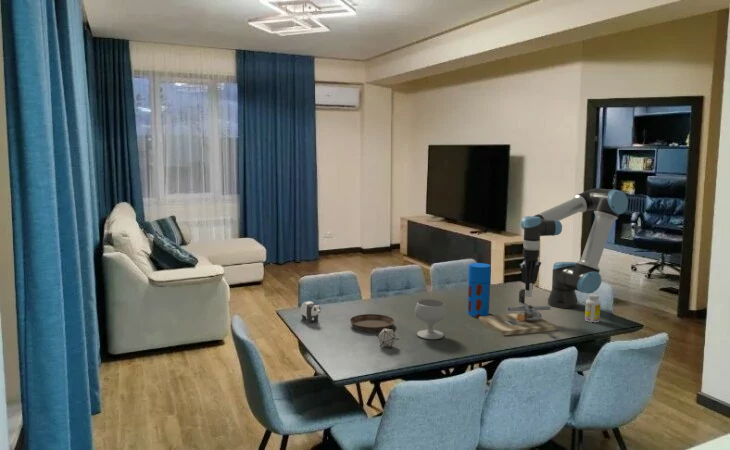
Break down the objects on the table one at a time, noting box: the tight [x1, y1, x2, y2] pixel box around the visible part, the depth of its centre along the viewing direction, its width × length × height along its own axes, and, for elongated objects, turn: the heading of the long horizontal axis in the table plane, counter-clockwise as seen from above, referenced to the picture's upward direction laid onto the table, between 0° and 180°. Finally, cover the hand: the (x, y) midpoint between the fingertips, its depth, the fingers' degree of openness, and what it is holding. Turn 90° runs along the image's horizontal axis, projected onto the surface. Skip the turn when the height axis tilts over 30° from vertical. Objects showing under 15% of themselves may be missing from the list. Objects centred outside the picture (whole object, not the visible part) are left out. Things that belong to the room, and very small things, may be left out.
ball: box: [517, 314, 525, 321], centre depth 256 cm, size 4×4×4 cm
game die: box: [375, 327, 399, 350], centre depth 229 cm, size 9×8×10 cm
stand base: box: [478, 312, 558, 336], centre depth 258 cm, size 28×22×2 cm
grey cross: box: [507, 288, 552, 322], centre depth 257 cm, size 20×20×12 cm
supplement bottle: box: [584, 293, 602, 324], centre depth 265 cm, size 7×7×13 cm
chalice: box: [414, 298, 448, 340], centre depth 242 cm, size 14×14×15 cm
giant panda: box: [300, 301, 322, 324], centre depth 261 cm, size 15×6×10 cm, turn 33°
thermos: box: [466, 262, 492, 318], centre depth 274 cm, size 11×11×25 cm
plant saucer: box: [349, 313, 395, 333], centre depth 255 cm, size 21×21×3 cm
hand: (528, 296), depth 268 cm, fingers closed
